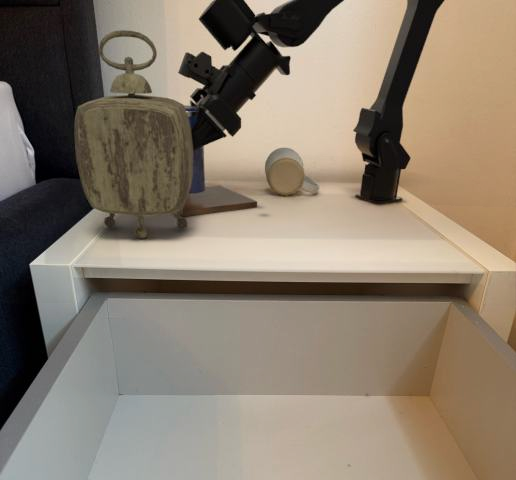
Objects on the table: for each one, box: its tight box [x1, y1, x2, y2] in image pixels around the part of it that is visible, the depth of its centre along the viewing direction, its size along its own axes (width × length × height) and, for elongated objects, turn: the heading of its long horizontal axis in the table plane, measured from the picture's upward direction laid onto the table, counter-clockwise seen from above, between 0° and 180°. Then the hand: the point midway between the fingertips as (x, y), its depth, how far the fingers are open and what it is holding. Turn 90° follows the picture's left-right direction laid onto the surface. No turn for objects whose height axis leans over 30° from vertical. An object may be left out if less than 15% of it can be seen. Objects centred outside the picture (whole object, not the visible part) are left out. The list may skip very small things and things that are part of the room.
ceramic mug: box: [264, 147, 320, 196], centre depth 96 cm, size 11×8×8 cm
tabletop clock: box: [73, 29, 193, 240], centre depth 66 cm, size 14×9×25 cm, turn 92°
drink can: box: [183, 104, 206, 194], centre depth 83 cm, size 6×6×13 cm
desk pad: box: [177, 184, 258, 217], centre depth 89 cm, size 14×14×1 cm
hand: (179, 149), depth 83 cm, fingers closed on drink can, 5 cm apart
